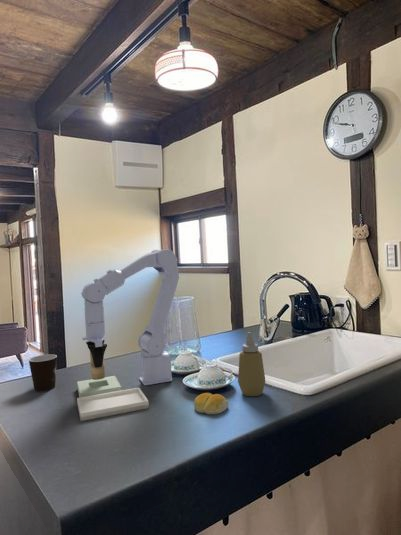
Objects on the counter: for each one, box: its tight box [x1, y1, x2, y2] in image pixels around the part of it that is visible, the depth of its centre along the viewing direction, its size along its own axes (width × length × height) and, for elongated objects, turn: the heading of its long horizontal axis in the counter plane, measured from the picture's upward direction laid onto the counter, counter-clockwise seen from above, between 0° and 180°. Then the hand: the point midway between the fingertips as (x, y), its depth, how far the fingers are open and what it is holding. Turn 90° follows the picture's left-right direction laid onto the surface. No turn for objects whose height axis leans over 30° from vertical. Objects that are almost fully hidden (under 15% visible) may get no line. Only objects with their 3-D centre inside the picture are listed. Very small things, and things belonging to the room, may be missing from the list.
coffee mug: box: [28, 354, 58, 393], centre depth 129 cm, size 12×9×10 cm
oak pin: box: [89, 352, 106, 380], centre depth 121 cm, size 4×4×8 cm
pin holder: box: [76, 375, 122, 398], centre depth 121 cm, size 12×12×2 cm
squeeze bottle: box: [237, 331, 266, 397], centre depth 114 cm, size 8×8×18 cm
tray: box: [76, 387, 150, 422], centre depth 109 cm, size 18×12×2 cm, turn 111°
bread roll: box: [193, 392, 229, 415], centre depth 105 cm, size 8×9×4 cm
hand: (97, 365), depth 121 cm, fingers closed on oak pin, 4 cm apart
